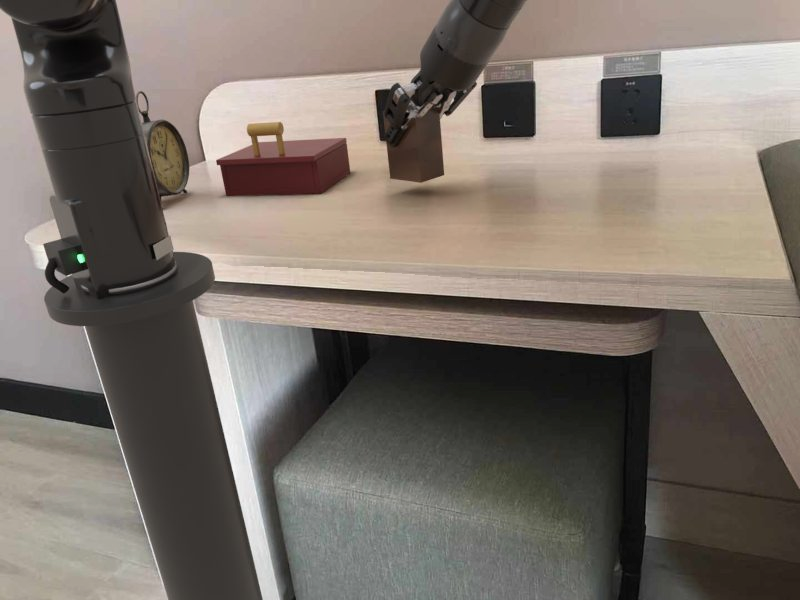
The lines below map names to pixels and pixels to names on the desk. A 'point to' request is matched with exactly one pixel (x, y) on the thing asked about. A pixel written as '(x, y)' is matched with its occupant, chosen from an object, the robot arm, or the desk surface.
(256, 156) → the box lid
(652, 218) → the desk surface
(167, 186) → the alarm clock
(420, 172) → the bookend
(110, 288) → the robot arm
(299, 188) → the box base
